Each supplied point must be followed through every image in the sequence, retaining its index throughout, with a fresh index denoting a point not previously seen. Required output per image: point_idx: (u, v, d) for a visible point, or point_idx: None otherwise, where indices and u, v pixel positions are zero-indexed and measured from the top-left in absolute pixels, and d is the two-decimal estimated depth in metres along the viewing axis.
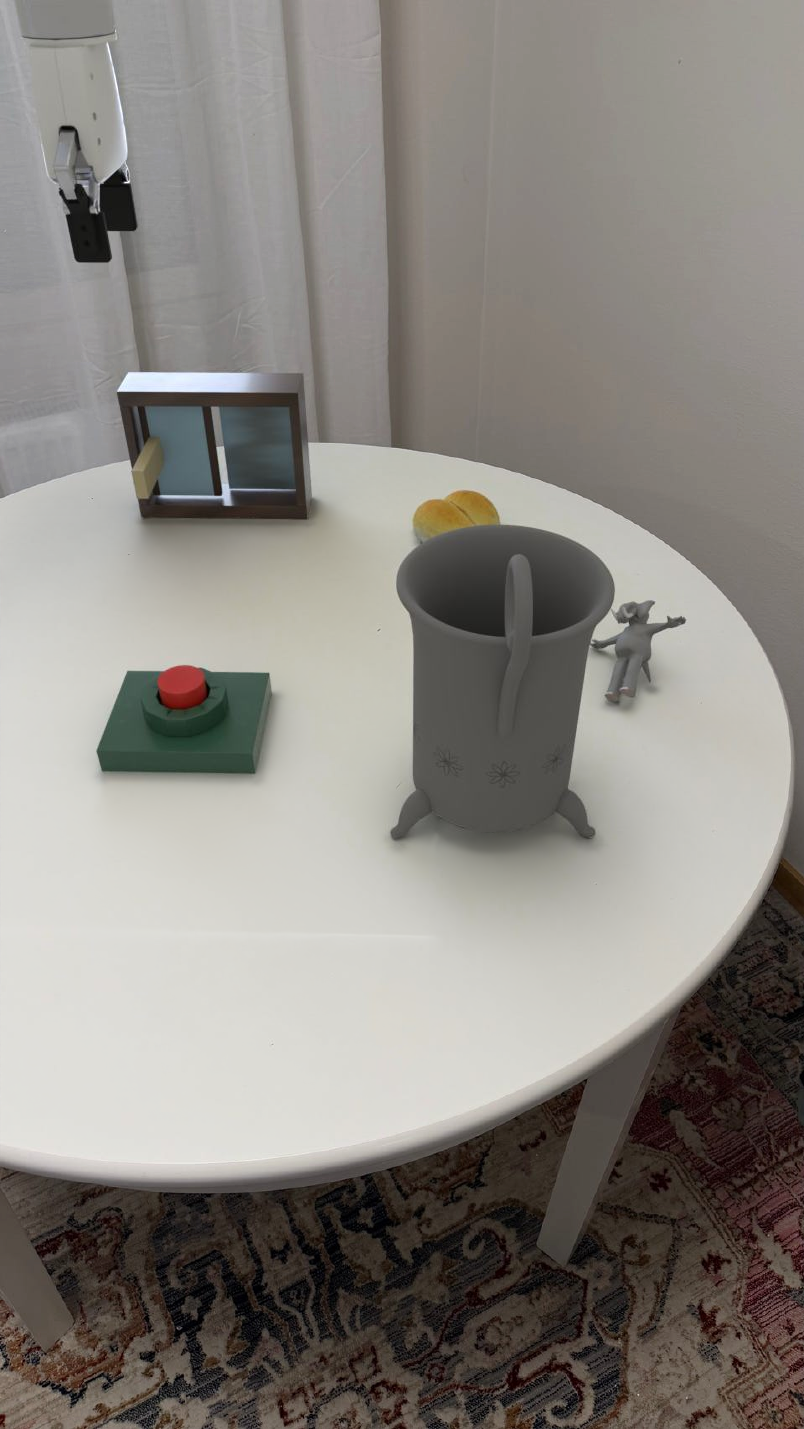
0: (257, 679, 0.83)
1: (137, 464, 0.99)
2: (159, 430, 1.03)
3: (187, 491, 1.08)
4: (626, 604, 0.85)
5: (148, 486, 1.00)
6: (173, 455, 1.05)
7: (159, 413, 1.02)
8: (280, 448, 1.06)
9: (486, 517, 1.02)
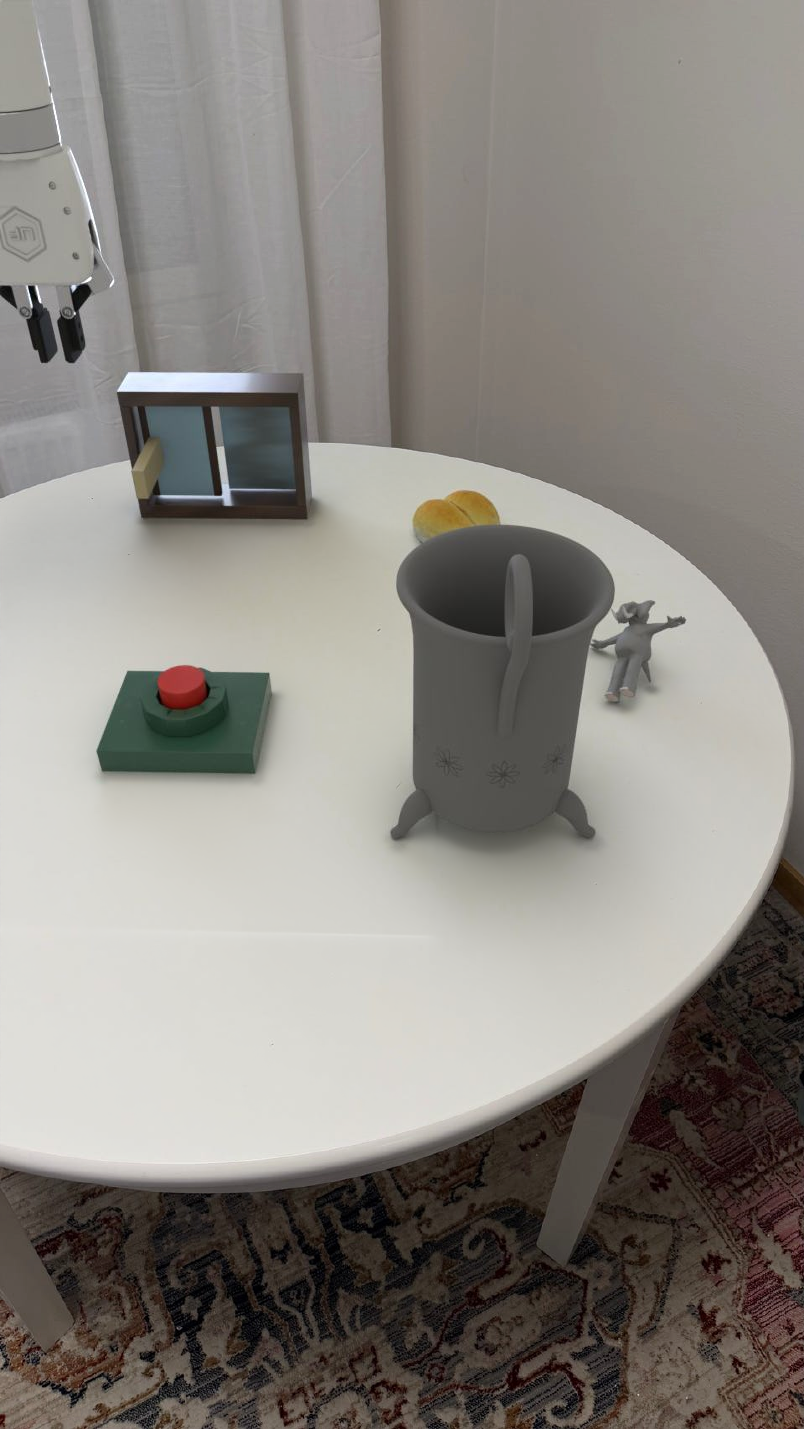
0: (257, 679, 0.83)
1: (137, 464, 0.99)
2: (159, 430, 1.03)
3: (187, 491, 1.08)
4: (626, 604, 0.85)
5: (148, 486, 1.00)
6: (173, 455, 1.05)
7: (159, 413, 1.02)
8: (280, 448, 1.06)
9: (486, 517, 1.02)
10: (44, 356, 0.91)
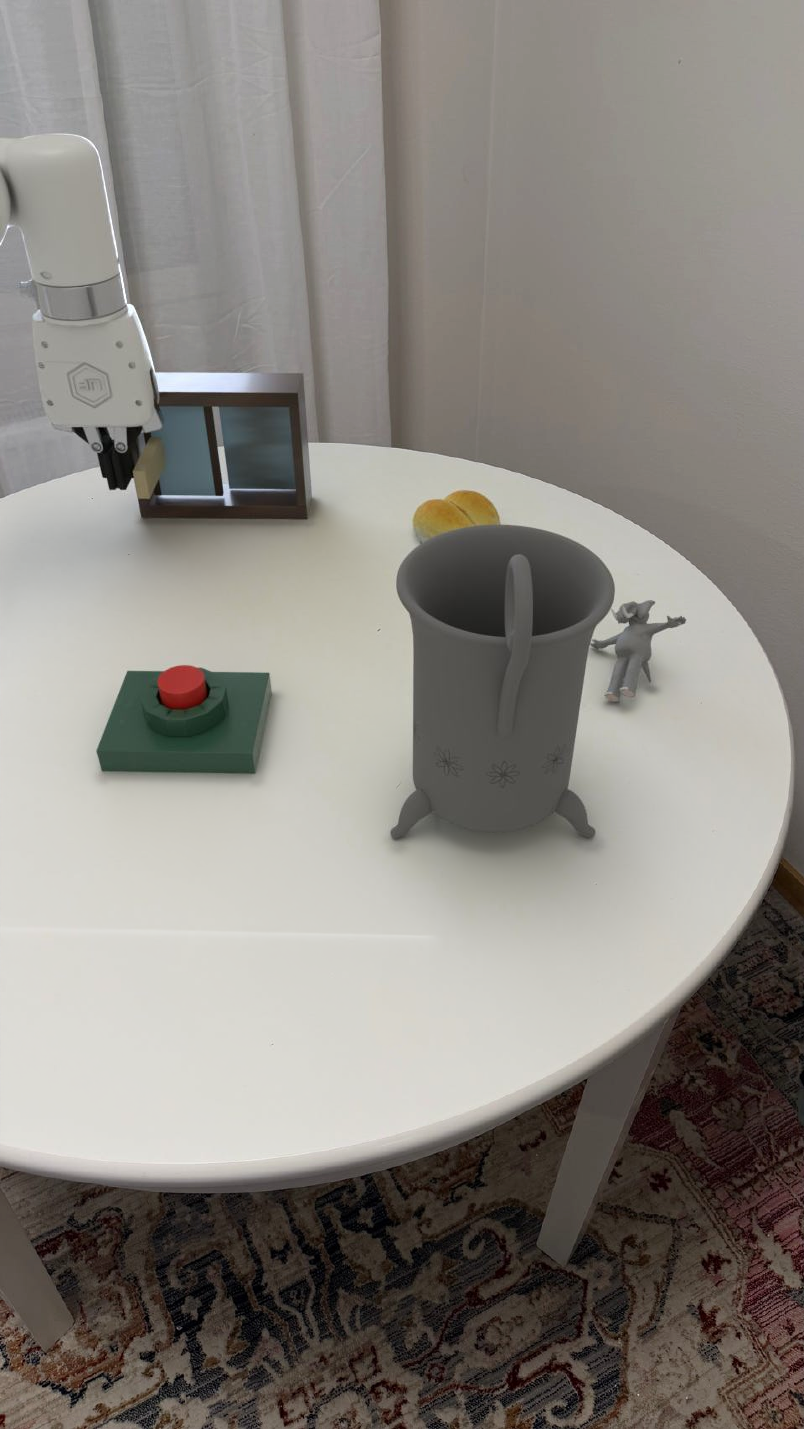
0: (257, 679, 0.83)
1: (138, 464, 0.99)
2: (161, 430, 1.03)
3: (188, 491, 1.08)
4: (626, 604, 0.85)
5: (149, 486, 1.00)
6: (174, 455, 1.05)
7: None
8: (280, 448, 1.06)
9: (486, 517, 1.02)
10: (112, 484, 0.99)
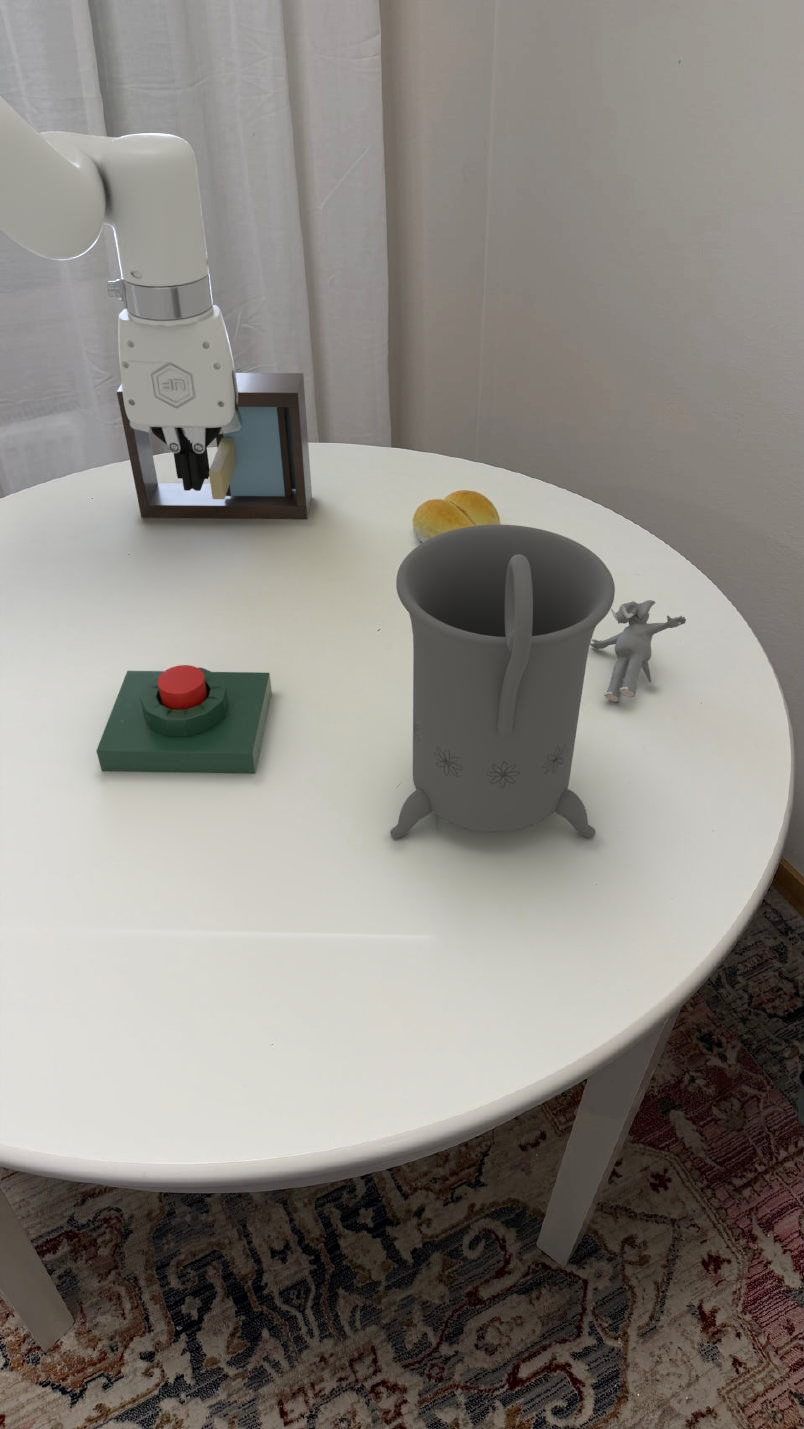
0: (257, 679, 0.83)
1: (214, 465, 0.99)
2: None
3: (258, 492, 1.08)
4: (626, 604, 0.85)
5: (224, 487, 1.00)
6: (245, 456, 1.05)
7: None
8: None
9: (486, 517, 1.02)
10: (188, 485, 0.99)
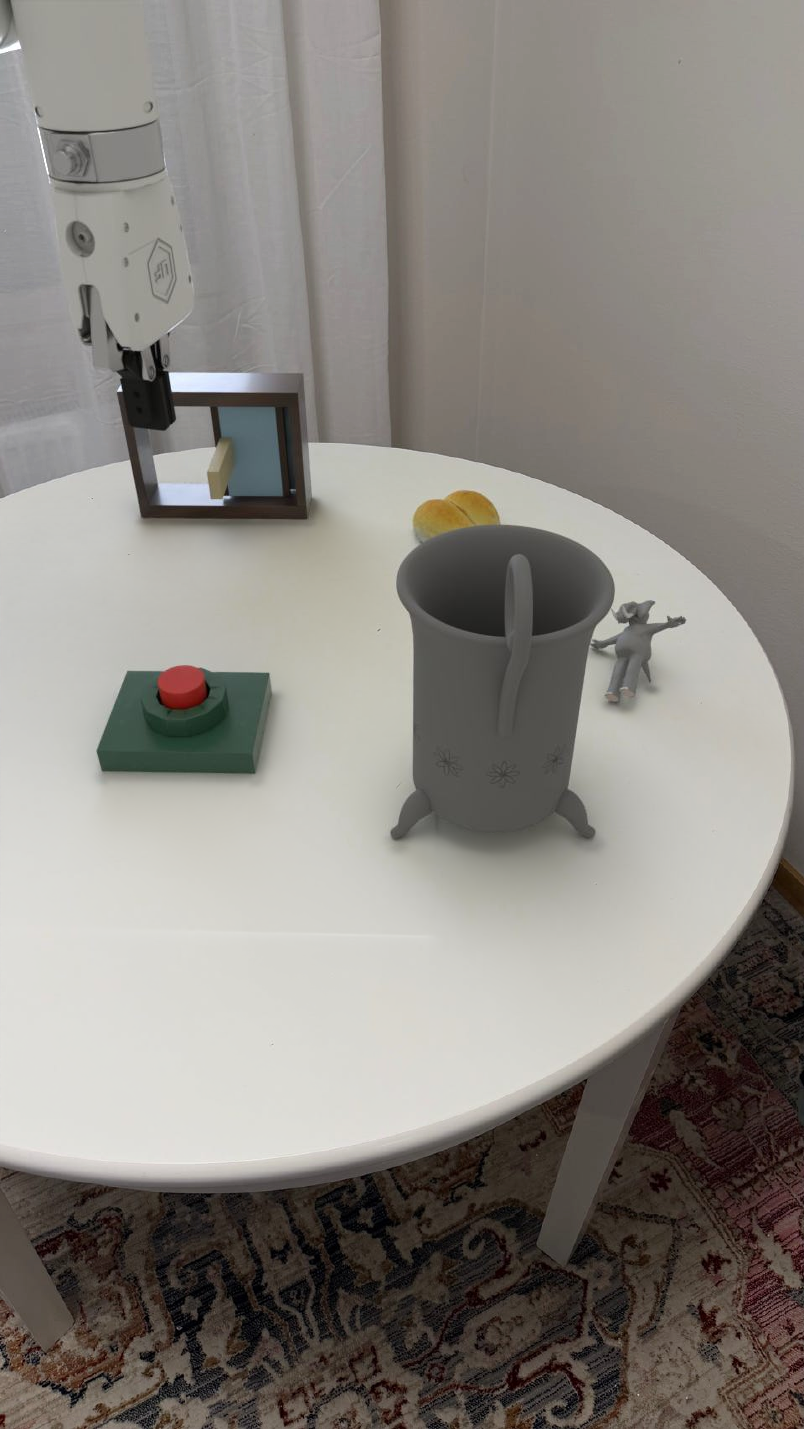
0: (257, 679, 0.83)
1: (212, 465, 0.99)
2: (231, 430, 1.03)
3: (256, 492, 1.08)
4: (626, 604, 0.85)
5: (222, 487, 1.00)
6: (243, 456, 1.05)
7: (232, 413, 1.02)
8: None
9: (486, 517, 1.02)
10: (168, 419, 0.75)
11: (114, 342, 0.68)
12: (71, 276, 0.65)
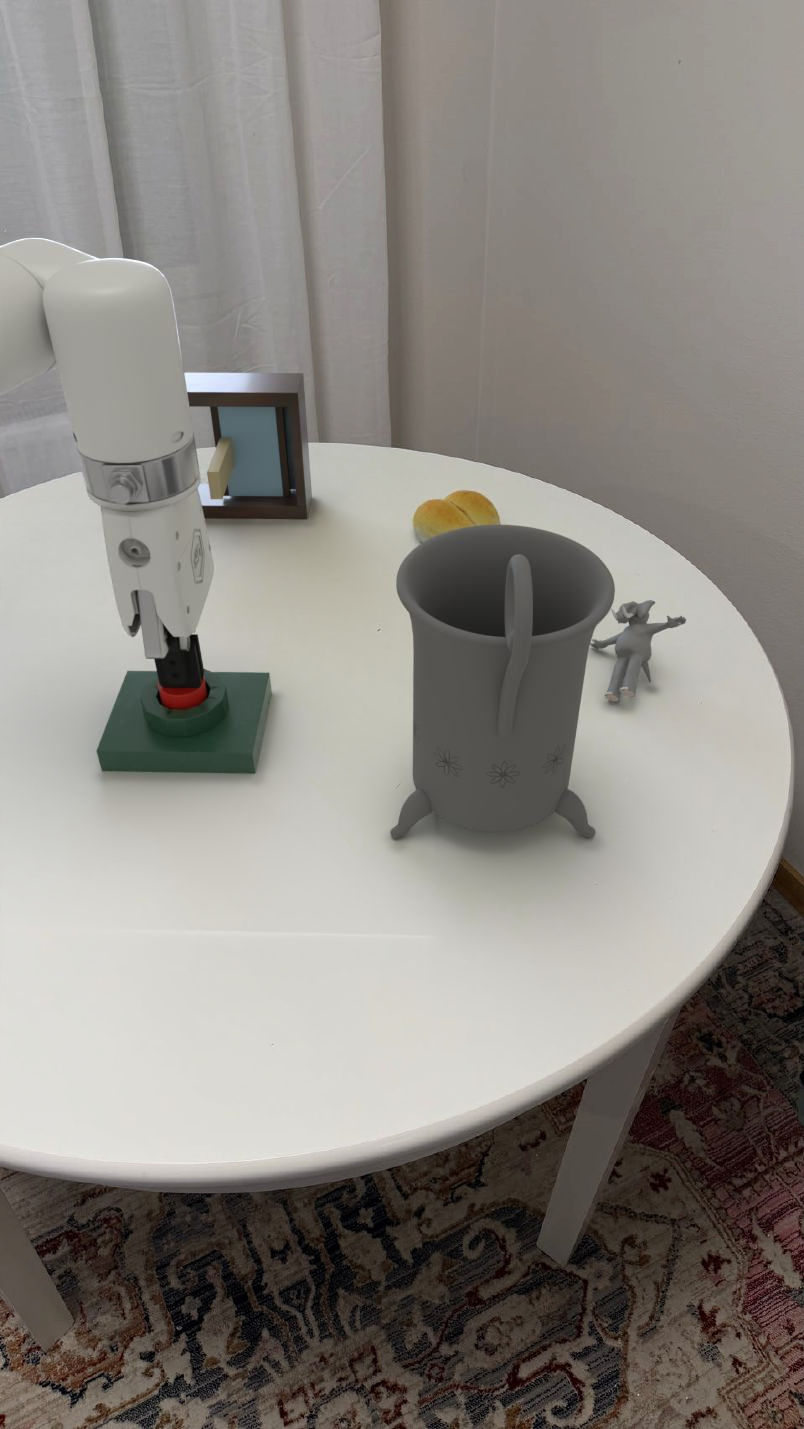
0: (257, 679, 0.83)
1: (212, 465, 0.99)
2: (231, 430, 1.03)
3: (256, 492, 1.08)
4: (626, 604, 0.85)
5: (222, 487, 1.00)
6: (243, 456, 1.05)
7: (232, 413, 1.02)
8: None
9: (486, 517, 1.02)
10: (200, 677, 0.78)
11: (162, 631, 0.70)
12: (123, 583, 0.67)
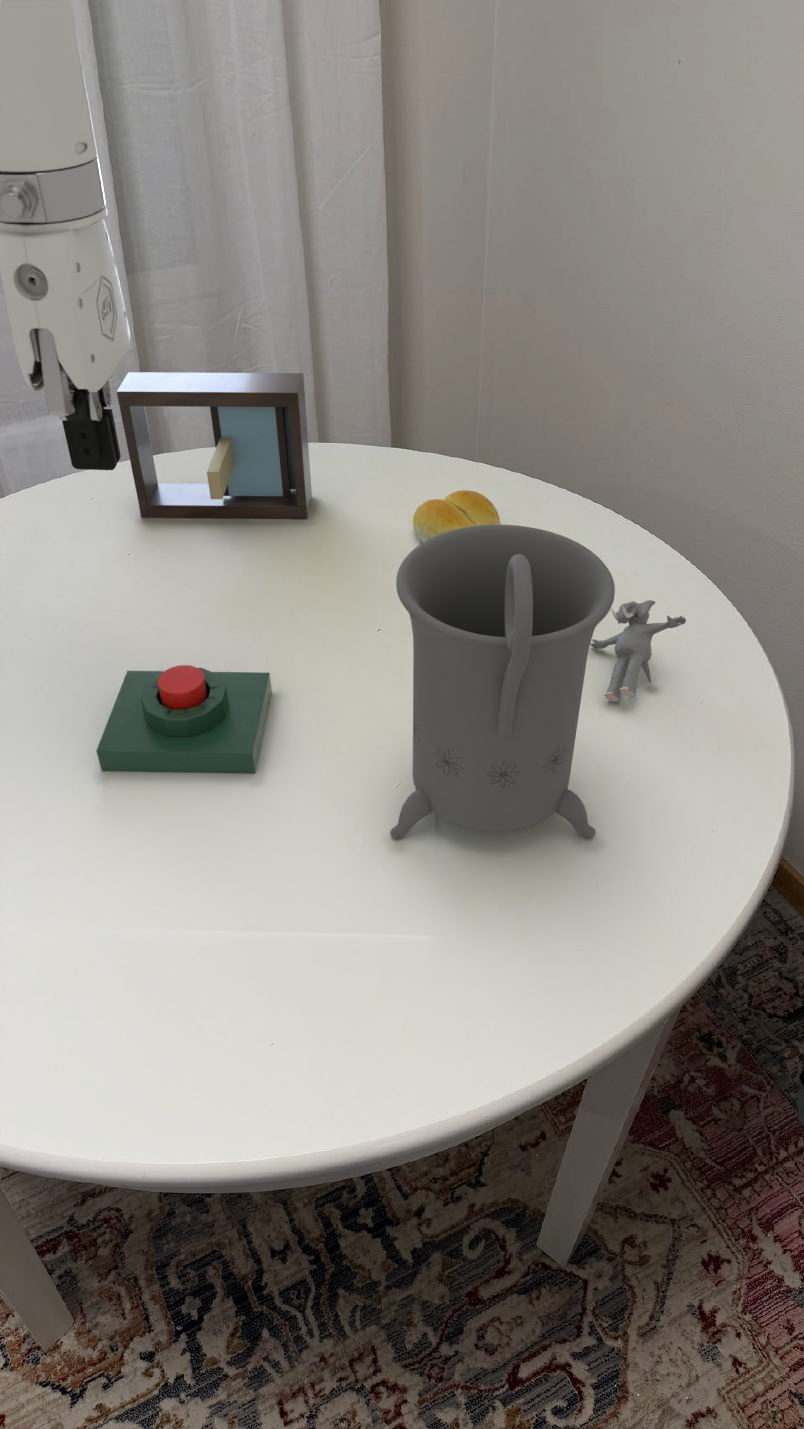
0: (257, 679, 0.83)
1: (212, 465, 0.99)
2: (231, 430, 1.03)
3: (256, 492, 1.08)
4: (626, 604, 0.85)
5: (222, 487, 1.00)
6: (243, 456, 1.05)
7: (232, 413, 1.02)
8: None
9: (486, 517, 1.02)
10: (115, 458, 0.73)
11: (67, 385, 0.66)
12: (21, 321, 0.63)
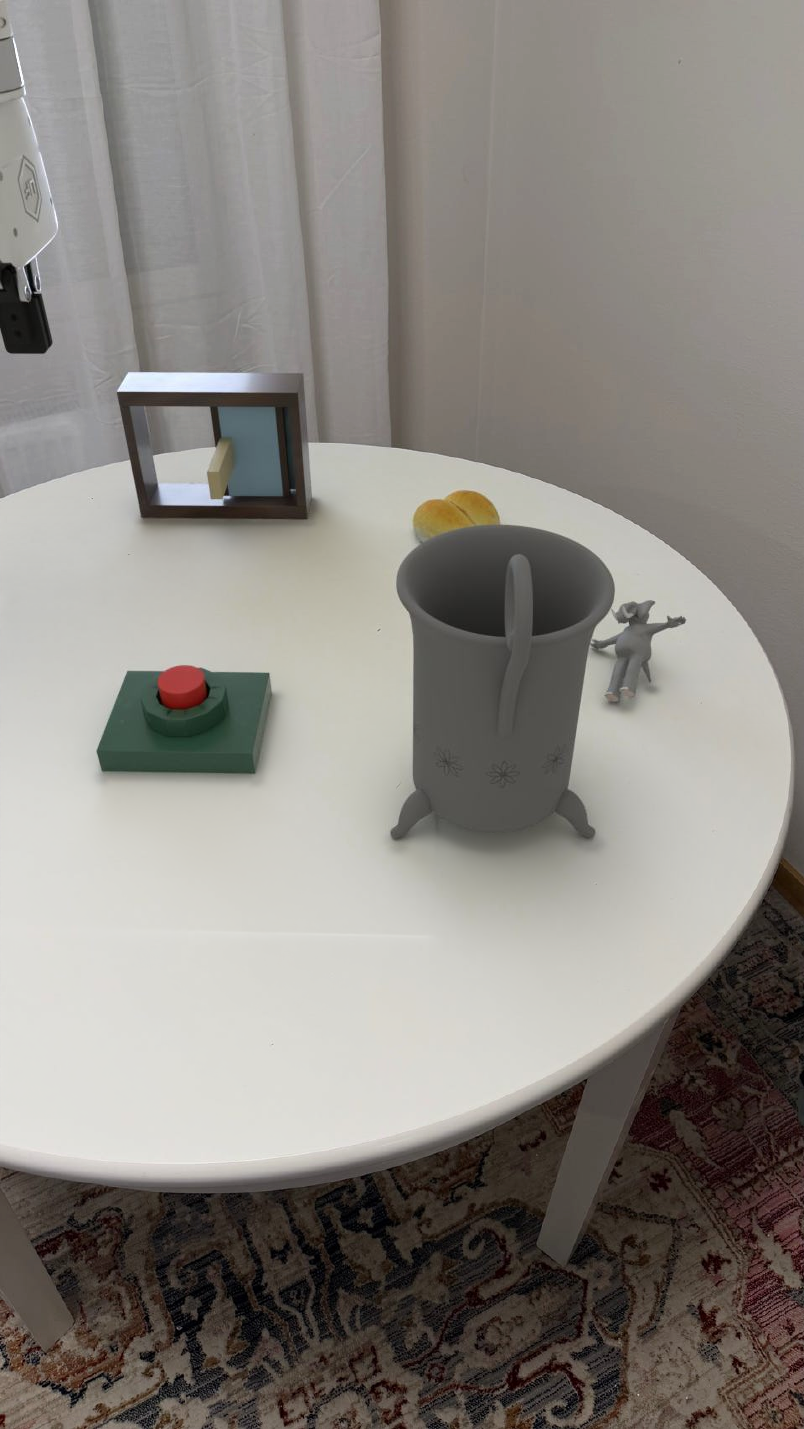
0: (257, 679, 0.83)
1: (212, 465, 0.99)
2: (231, 430, 1.03)
3: (256, 492, 1.08)
4: (626, 604, 0.85)
5: (222, 487, 1.00)
6: (243, 456, 1.05)
7: (232, 413, 1.02)
8: None
9: (486, 517, 1.02)
10: (46, 342, 0.77)
11: None
12: None
